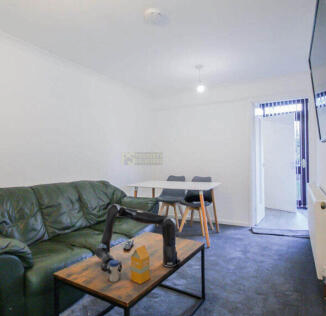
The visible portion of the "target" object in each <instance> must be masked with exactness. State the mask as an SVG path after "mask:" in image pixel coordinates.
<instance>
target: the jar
mask: <svg viewBox="0 0 326 316" xmlns="http://www.w3.org/2000/svg"><path fill="white" fill-rule="evenodd" d="M110 270H111V274H109V281H110V282H113V283H115V282H118V281H119V271H118V266H116V267H111V266H110Z"/></svg>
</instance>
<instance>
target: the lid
mask: <svg viewBox="0 0 326 316" xmlns="http://www.w3.org/2000/svg"><path fill="white" fill-rule="evenodd" d="M119 262H120V261H119V260H118V259H115V260H111V261H109V266H111V267H116V266H118V265H119Z"/></svg>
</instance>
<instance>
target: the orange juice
mask: <svg viewBox="0 0 326 316" xmlns="http://www.w3.org/2000/svg"><path fill="white" fill-rule="evenodd" d="M130 280H131V281H132V282H134V283H137V284H140V285H142V284H143V283H145V282H146V281H148V280H150V254H149V252H148V250H147V247H146V245H145V244H144V245H141V246H139V247H137V248H135V249H134V251H133V253H132V255H131V256H130Z"/></svg>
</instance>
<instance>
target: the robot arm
mask: <svg viewBox="0 0 326 316" xmlns="http://www.w3.org/2000/svg"><path fill="white" fill-rule="evenodd" d="M117 217H120V218H126V219H129V221H133V222H135V223H138V224H143V225H157V226H161V236H162V266H163V267H166V268H175V267H176V266H178V265H179V264H181V259H180V258H179V257H178V251H177V236H176V226H177V220H176V219H175V218H174V217H173V216H169V215H163V214H162V215H161V214H156V213H154V212H150V211H146V210H143V209H138V208H137V209H136V208H130V207H126V206H123V205H120V204H118V203H112V204H110V205H109V206H108V207H107V210H106V219H105V225H104V229H103V233H102V235H101V240H100V242H101V244H102V245H104V246H105V247H104V246H98V247H96V249H95V252H94V253H95V256H96V258H98V259H99V260H101V262H102V264H100V270H101V271H102V272H103V273H107V274H109V275H110V274H111V270H110V266H109V261H111V260H116V259H115V258H114V257H113V256H112V254H111V243H112V239H113V234H114V225H115V221H116V218H117ZM122 270H123V263H122V261H119V265H118V273H121V272H122Z"/></svg>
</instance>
